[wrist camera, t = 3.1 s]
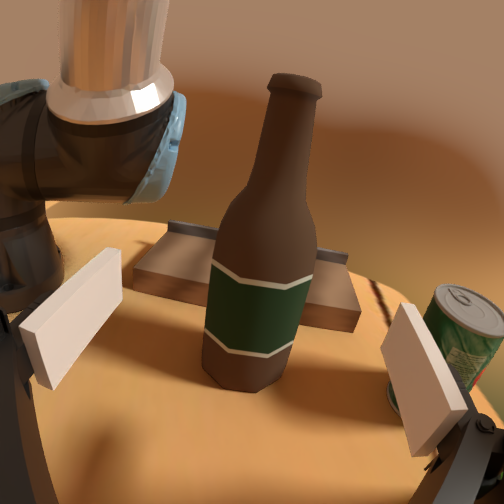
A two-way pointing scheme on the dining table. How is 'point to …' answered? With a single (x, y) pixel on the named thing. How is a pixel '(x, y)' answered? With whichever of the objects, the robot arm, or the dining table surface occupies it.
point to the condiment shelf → (199, 266)
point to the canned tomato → (462, 332)
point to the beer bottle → (265, 249)
